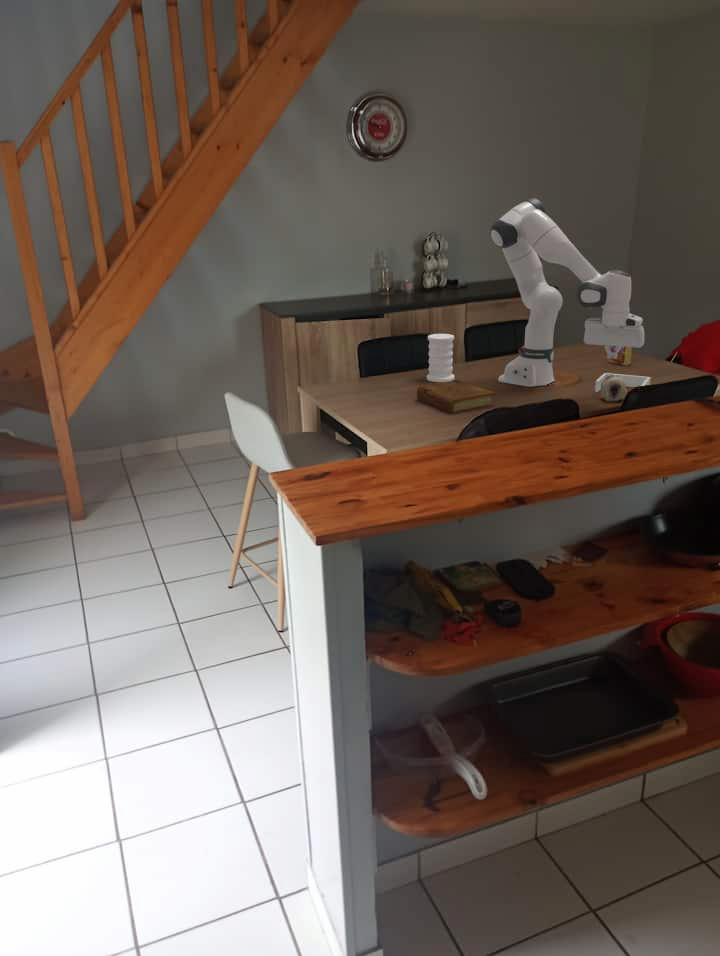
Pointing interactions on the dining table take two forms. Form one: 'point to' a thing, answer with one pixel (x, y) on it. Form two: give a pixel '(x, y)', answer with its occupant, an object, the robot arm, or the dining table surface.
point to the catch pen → (625, 380)
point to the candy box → (621, 355)
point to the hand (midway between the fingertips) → (611, 358)
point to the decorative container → (440, 358)
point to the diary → (455, 396)
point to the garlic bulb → (613, 388)
